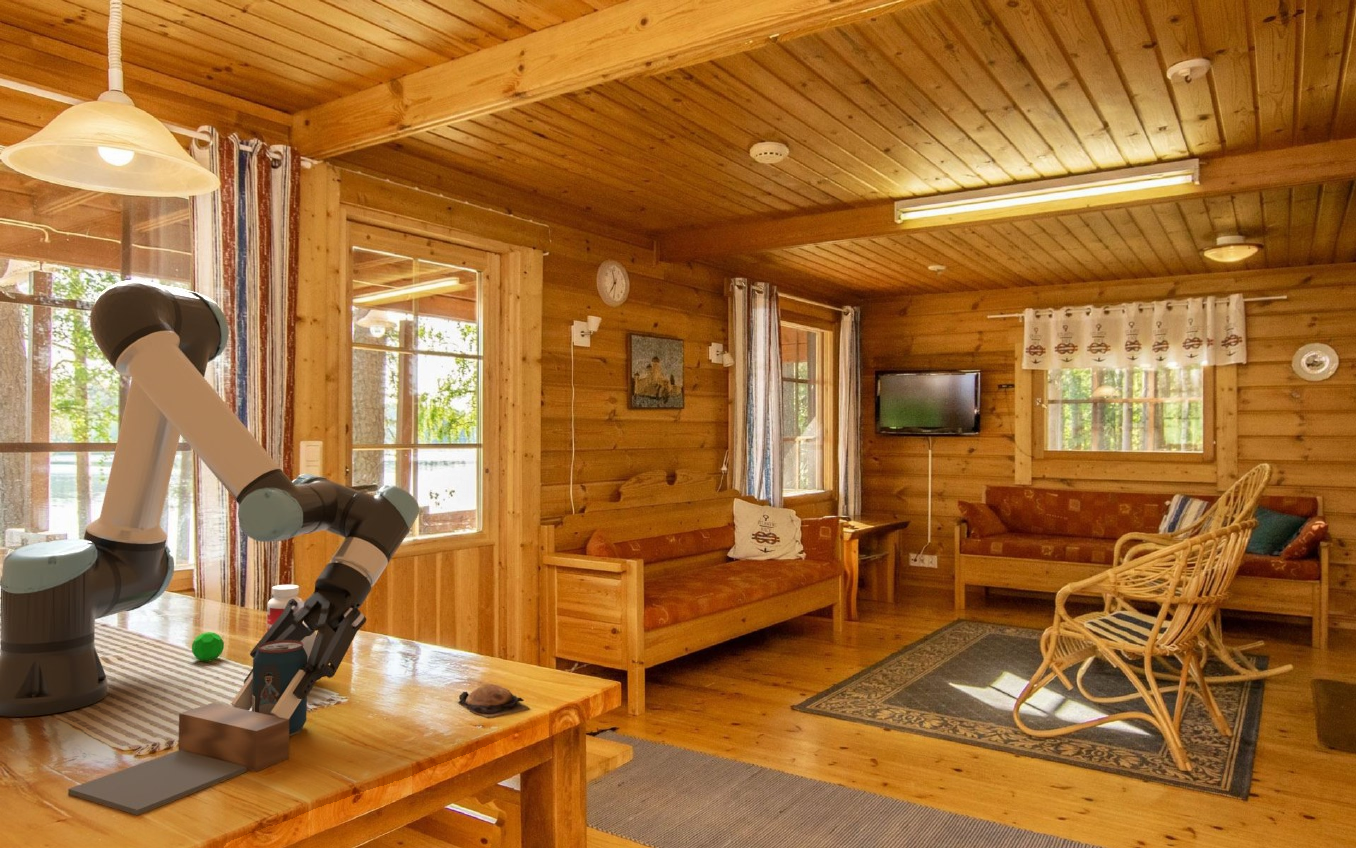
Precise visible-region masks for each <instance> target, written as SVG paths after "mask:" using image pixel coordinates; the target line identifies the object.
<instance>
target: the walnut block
mask: <svg viewBox="0 0 1356 848" xmlns="http://www.w3.org/2000/svg"><path fill="white" fill-rule="evenodd" d="M289 747H290V736H289V719H285V718H281V717H276V716H272V715H267V714H262V713H258V712H253V711H252V710H244V709H240V708H235V707H234V706H232V705H230V706H229V705H225V704H220V703H218V702H217V703H216V702H211V703H208V704H205V705H202V706H198V707H195V708H192V709H188V710H185V711H182V712H179V713H178V750H183V751H187V752H191V753H194V754H198V755H202V756H206V757H210V758H214V759H218V760H222V761H226V762H230V763H234V764H237V765H241V766H245V767H247V770H248V771H251V772H255V773H256V772H259V771H261V770H264V769H266V768H268V767H271V766H274V765H276V764H278V763H281V762H284V761H286V760H288V759H289V753H290V749H289ZM178 750H177V751H178ZM247 770H246V771H247Z"/></svg>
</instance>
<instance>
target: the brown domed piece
mask: <svg viewBox="0 0 1356 848" xmlns="http://www.w3.org/2000/svg"><path fill="white" fill-rule="evenodd" d="M458 698H459V701H458V702H457V701H456V703H457V704H458V705H460V706H461V707H462V708H464V709H465V710H468V711H469V712H471V713H473V714H475V715H478V716H479V717H480V716H481V717H483V718H486V719H494V718H498V717H502V716H507V715H508V716H509V715H512V714H515V713H516V714H517V713H520V712H524V711H528V710H530V707H529V706H528V705H525V704H523V703H522V702H524V701H525V700H524V699H523V698H522V697H518V696H516V695H514V694H513V693H512V692H511V690H509V689H507V688H505V687H503V686H500V685H498V684H491V683H490V684H486V685H481V686H479V687H477V688H475V689H474V690H473V691H471V693H468V691H463V692H462V693H461V694H460V695H459V697H458Z"/></svg>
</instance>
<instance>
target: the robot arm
mask: <svg viewBox="0 0 1356 848" xmlns="http://www.w3.org/2000/svg"><path fill="white" fill-rule="evenodd" d="M89 324H90V325H89V326H90V329H91V330H90V331H91V332H92V337H93V340H94V342H95V343H96V345H97V347H98V348H99V350H100V352H101V353H102V354H103V356H104V357H105V358H106V360H107V362H109V364H111V366H112V367H113V369H115V371H116V372H117V373H118V374H119V375H121V376H123V377H131V380H130V385H129V389H128V393H127V398H126V401H125V407H124V411H123V415H122V419H121V424H120V429H119V433H118V436H117V442H116V445H115V450H114V454H113V459H112V463H111V467H110V472H109V476H108V480H107V484H106V485H107V486H106V489H105V493H104V497H103V502H102V506H101V512H100V515H99V517H98V518H97V519H95V520H94V521H92V522H91V523H89V524H87V526H86V528H85V532H84V537H83V539H79V538H74V539H73V538H70V539H69V538H67V539H66V538H65V539H56V540H51V541H42V542H37V543H32V544H28V545H24V546H22V547H19V548H16V549H14V550H13V551H11V552H9V553H8V554H7V555H6V557H5V558H4V559H3V562H2V569H1V570H2V573H1V576H0V717H13V718H14V717H15V718H18V717H35V716H46V715H52V714H57V713H64V712H69V711H73V710H77V709H81V708H84V707H88V706H90V705H93V704H95V703H97V702H99V701H102V700H103V699H104V698H105V697H106V696H107V695H108V678H107V675H106V673H105V670H104V668H103V667H104V666H103V664H102V662H101V660H100V656H99V654H98V651H97V649H96V644H95V642H96V641H95V637H96V636H95V633H96V628H95V627H96V620H97V619H102V618H106V617H109V616H112V615H116V614H119V613H123V612H131V611H134V610H137V609H139V608H142V607H143V606H145V605H147V604H150V603H152V602H154V601H155V600H157V599H158V598H160V597H162V595H163V594H164V593H165V592H166V591H167V589H168V587H169V586H170V584H171V581H172V579H173V577H174V573H175V572H174V571H175V560H174V557H173V556H172V555H171V549H170V548H169V546H168V545H167V544H166V543H167V539H168V534H167V533H166V532H165V531H164V529H163V528H162V527H161V525H160V524H161V518H162V516H163V510H164V506H165V502H166V497H167V494H168V489H169V485H170V480H171V476H172V472H173V467H174V463H175V459H176V455H177V450H178V445H179V442H180V439H181V438H180V437H182V438H183V439H184V441H185V442H186V443H187V444H188V445H189V447H190V448H191V449H192V450H193V452H195V454H196V455H197V456H198V457H199V459H201V461H202V462H203V463H204V464H205V466H206V467H207V468H208V469H209V471H210V472H211V473H212V474H213V475H214V477H215V478H217V480H218V481H219V482H220V483H221V485H223V487H224V488H225V489H226V491H227V492H228V493H229V494H230V495H231V497H232V498H233V499H234V500H235V502H237V504H238V505H239V507H238V511H237V518H238V522H239V526H240V529H241V530H242V531H243V533H244V534H245V535H246V536H247V537H249V538H250V539H252V540H254V541H257V542H261V543H262V542H263V543H267V542H268V543H271V542H282V541H287V540H289V539H291V538H294V537H298V536H301V535H307V534H312V533H313V534H314V533H317V532H320V531H325V532H328V533H331V534H335V535H338V536H340V537H343V538H344V539H343V541H342V542H341V544H340V545H339V547H338V548H337V549H336V551H335V552H334V553H333V555H332V556H331V557H330V560H329V563H327V564H326V565H325V566H324V568H323V570H322V571H321V572H320V574H319V575H318V577H317V578H316V580H315V582H314V591H313V593H312V594H311V595H310V596H309V597H307V599H305V601H303V602H297V601H296V600H295V599H291V600H289V601H288V603H287V605H286V607H285V609H284V611H283V613H282V614H281V615H280V617H279V618H278V619H277V620H276V621H275V623H274V624H273V625H272V626H271V628H270V629H269V630H268V631H267V630H266V632H265V634H264V635H263V636H262V637H261V638H260V640H259V641H258V642H257V643H256V644H255V646H254V647H253V648H252V650H251V651H250V653H249V655H250V657H251V658H252V659H254V657H255V655H256V653H257V651H258V646H259V645H261V644H263V643H266V642H271V641H278V640H296V641H302V640H303V639H304V638H305V637H306V636H310V635H312V634H313V633H314V632H315V633H316V638H315V641H314V644H313V647H312V650H311V653H310V656H309V659H308V662H307V664H304V665H302V667H303V668H304V669H305V670H306V673H305V672H304V671H303V670H299V671H298V672H297V674H296V675H295V676H294V678H293V679H292V681H291V682H290V684H289V685H288V687H287V688H286V690H285V691H284V693H283V694H282V696H281V697H280V699H279V700H278V702H277V703H276V705H275V707H274V708H273V710H272V711H271V713H272V714H273V715H274V716H276V717H281V718H285V719H289V718H290V717H291V715H292V714H293V712H294V711H295V709H296V707H297V706H298V704H299V703H300V701H301V700H302V699H304V698H306V697H307V698H308V695H309V693H310V692H311V691H312V688H314V686H315V684H316V683H317V681H319V680H321V679H322V678H325V677H327V678H329V679H330V678H333V677H334V676H335V675H336V673H337V671H338V669H339V667H340V665H341V663H342V661H343V659H344V657H345V655H346V653H347V652H348V649H350V646H351V644H352V642H353V640H354V638H355V637H356V635H357V633H358V631H359V630H360V629H361V628H362V627H363V625H364V624H366V622H367V617H365V614H363V613H362V611H360V610H359V609H360V608H361V606H362V605H363V604H364V602H365V601H366V599H367V598H368V596H369V594H370V593H371V592H372V587H373V586H375V584H376V583H377V581H378V580H379V578H380V577H381V575H382V573H383V572H384V570H385V569H386V567H387V566H388V564H389V563H390V561H391V560H392V558H393V557H394V555H395V553H396V552H397V550H398V549H399V547H400V546H401V544H402V543H403V541H404V540H405V539H406V537H407V535H409V534H410V532H411V529H412V527H413V525H414V523H415V522H416V520H417V518H418V516H419V514H420V506H419V503H418V501H417V500H416V498H415V497H414V496H413V495H412V494H411V493H410V492H408V491H407V490H406V489H404V488H401V487H399V486H396V485H383V486H382V487H380V488H379V489H378V490H377V491H376V492H375V493H374V494H370V493H367V492H363V491H360V490H357V489H354V488H352V487H349V486H346V485H344V484H341V483H338V482H335V481H332V480H330V479H328V477H327V478H326V477H323V476H317V475H314V474H310V473H302V474H299V475H298V476H297V477H296V479H293V480H291V479H290V477H289V476H288V475H287V474H286V473H285V472H284V470H282V468H280V466H279V465H278V464H277V463H276V462H275V460H274V459H273V458H272V457H271V456H270V454H269V453H268V452H267V451H266V450H265V448H264V447H263V446H262V445H261V443H259V441H258V440H257V438H255V436H254V435H253V434H252V432H250V431H249V429H248V428H247V427H246V426H245V424H244V423H242V421H241V420H240V419H239V418H238V416H237V414H235V413H234V412H233V410H232V409H231V408H230V407H229V406H228V405H227V403H226V402H225V401H224V399H223V398H222V397H221V395H219V393H218V392H217V391H216V390H215V389H214V388H213V386H212V385H211V384H210V383H209V382H208V381H207V380H206V379H205V375H206V371H207V367H208V363H210V362H212V361H213V360H215V359H216V358H217V357H219V356H220V355H221V354H222V353H223V352H224V350H225V349H226V347H227V344H228V341H229V332H230V331H229V325H228V324H229V323H228V321H227V317H226V316H225V314H224V312H223V311H222V309H221V307H220V306H219V304H217V302H216V301H214V300H213V299H212V298H210V297H208V296H206V295H203V294H200V293H198V292H195V291H192V290H190V289H186V288H185V289H184V288H179V287H173V286H168V285H162V284H158V283H153V282H151V281H145V280H137V279H136V280H135V279H132V280H124V281H120V282H117V283H115V284H113V285H111V286H109V287H107V288H105V289H104V290H102V292H101V293H99V295H98V296H97V297H96V299H95V301H94V303H93V305H92V307H91V311H90V314H89ZM303 623H305V624H306V625H307V626H308V627H306V626H305V625H304V624H303ZM252 687H253V668H252V669H251V670H250V672H249V674H247V676H246V677H245V679H244V681H243V685H242V686H241V688H240V689H239V691H238V692H237V694H236V695H235V696H234V698H233V699H232V701H231V702H230V706H231V707H235V708H240V709H244V710H249V711H251V709H252Z"/></svg>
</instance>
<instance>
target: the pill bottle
mask: <svg viewBox="0 0 1356 848" xmlns="http://www.w3.org/2000/svg"><path fill="white" fill-rule="evenodd" d="M299 594H300V586H299V585H297V584H279V585H274V586H272V587H271V595H272V598H271V599H269V601H268V602H267V605H266V607H267V610H266V611H267V614H266V615H267V616H266V632H267V631H268V630H269V629H270V628H271V626H272V625H273V624H274V623H275V621H276V620H277V619H278V618H279V617H280V615H281V614H282V613H283V611H284V609H285V607H286V605H287V603H288V601H289V600H291V599H295V600H296V601H297V602H304V601H303V599H302V598H301V597H299V596H298V595H299Z"/></svg>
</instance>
